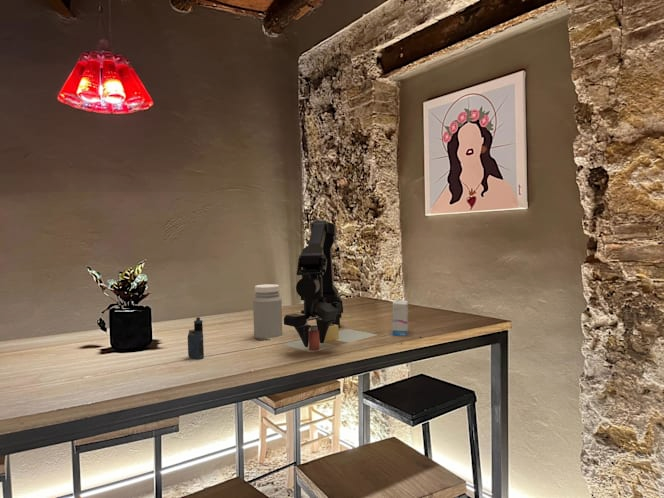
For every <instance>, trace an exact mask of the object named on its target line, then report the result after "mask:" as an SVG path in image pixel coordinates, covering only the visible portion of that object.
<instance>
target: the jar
mask: <svg viewBox="0 0 664 498" xmlns="http://www.w3.org/2000/svg"><path fill="white" fill-rule="evenodd" d="M279 291H280V285H279V284H275V283H270V284H269V283H266V284H257V285H255V286H254V292H255V294H254V298H253V300H252V304H253V305H252V306H253V308H252V309H253V310H252V312H253V336H254V337H255V338H256V340H258V341H259V340H260V341H271V339H272V338H278V337H281V336H282V335H283V310H282V306H283V305H282V302H283V301H282V298H281V296H280V292H279Z"/></svg>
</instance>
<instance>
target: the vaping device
mask: <svg viewBox="0 0 664 498" xmlns="http://www.w3.org/2000/svg"><path fill="white" fill-rule="evenodd" d="M195 319H196V320H194V321H193V323H194V324H193V325H194V326H193V329H189V330H188V333H187V334H188V335H187V355H188V359H193V360H202V359H204V357H205V355H204V354H205V352H204V332H203V331H204V328H203V320H202V319H201V317H199V316H198V317H195Z"/></svg>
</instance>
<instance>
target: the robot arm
mask: <svg viewBox="0 0 664 498" xmlns="http://www.w3.org/2000/svg"><path fill="white" fill-rule="evenodd" d="M337 235H338V228H337V225H336V224H335V223H333V222H330V221H328V220H314V221H312V223H311V224H310V236H309V237H310V238H309V240H308V241H309V242H308V244H307V246H305V247H303V249H302V250H301V253H300V255H299V256H298V262H297V268H296V270H297V271H296V276H301V278H300V279H299V280H297V282H296V285H295V289H296V290H295V291H296V294H298V296H299V297H300V301H303V309H301V310H300V313H301V314H300V313H290V314H286V315H284V318H283V325H284V326H290V327H294V329H295V331H296V332H297V334H298V336H299V337H300V340H302V342H303V344H304V346H305V347H308V343H309V330H310V327H311V326H312V325H310V324H309V321H314V320H315V322H316V323H315V324H316V326H317V329H318V330H319V340H320V343H324V340H325V336H326V333H327V330H328V328H329V326H330V324H334V325H338V329H340V328H341V319H342V318H343V317H342V314H343V313H344V304H343V300H342V298H341V296H340V292H339V291H340V290H338V288H337V287H336V286H335V280H334V279H335V278H334V267H333V266H334V265H333V264H334V263H333V251H332V250H333V249H332V247H333V245H334V243H335V241H336V237H337Z"/></svg>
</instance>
